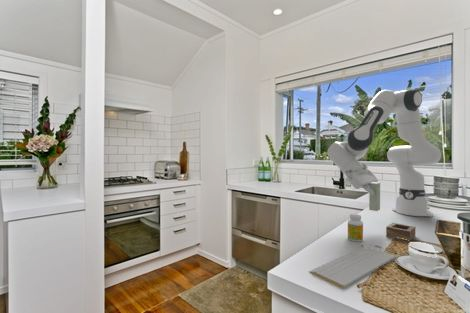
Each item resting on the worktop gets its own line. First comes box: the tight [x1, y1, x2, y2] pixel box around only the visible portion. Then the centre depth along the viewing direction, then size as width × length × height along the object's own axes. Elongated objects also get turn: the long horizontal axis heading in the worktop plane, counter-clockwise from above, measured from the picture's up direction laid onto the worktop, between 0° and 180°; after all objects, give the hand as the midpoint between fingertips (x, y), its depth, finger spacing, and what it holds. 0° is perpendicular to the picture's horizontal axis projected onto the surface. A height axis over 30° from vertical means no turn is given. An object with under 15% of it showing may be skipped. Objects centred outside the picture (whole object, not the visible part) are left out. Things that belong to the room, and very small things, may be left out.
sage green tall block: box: [368, 182, 381, 212], centre depth 106 cm, size 4×3×12 cm
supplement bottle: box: [347, 213, 364, 243], centre depth 95 cm, size 5×5×10 cm
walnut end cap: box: [385, 222, 416, 242], centre depth 99 cm, size 9×8×4 cm
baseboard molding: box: [308, 244, 397, 290], centre depth 74 cm, size 31×3×12 cm
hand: (376, 193), depth 106 cm, fingers closed on sage green tall block, 4 cm apart
